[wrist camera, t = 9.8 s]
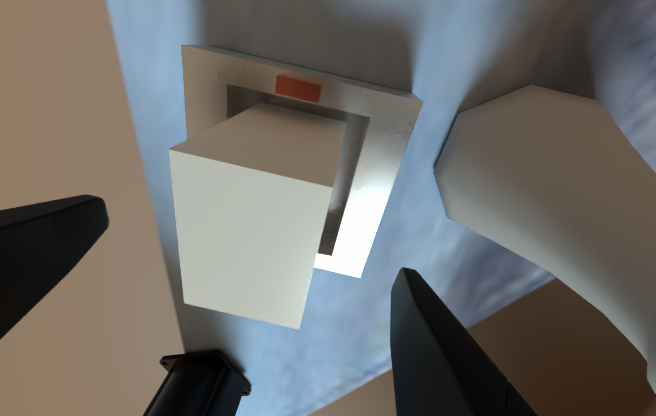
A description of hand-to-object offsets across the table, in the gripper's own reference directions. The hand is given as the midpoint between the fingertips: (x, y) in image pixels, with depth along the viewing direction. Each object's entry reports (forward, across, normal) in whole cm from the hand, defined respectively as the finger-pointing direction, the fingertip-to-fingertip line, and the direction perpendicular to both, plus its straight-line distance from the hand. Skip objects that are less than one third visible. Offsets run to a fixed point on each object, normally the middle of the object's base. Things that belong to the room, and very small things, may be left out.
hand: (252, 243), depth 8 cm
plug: (+7, 0, 0) cm, 7 cm away
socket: (+7, 0, 0) cm, 7 cm away
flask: (+7, -10, -2) cm, 13 cm away
